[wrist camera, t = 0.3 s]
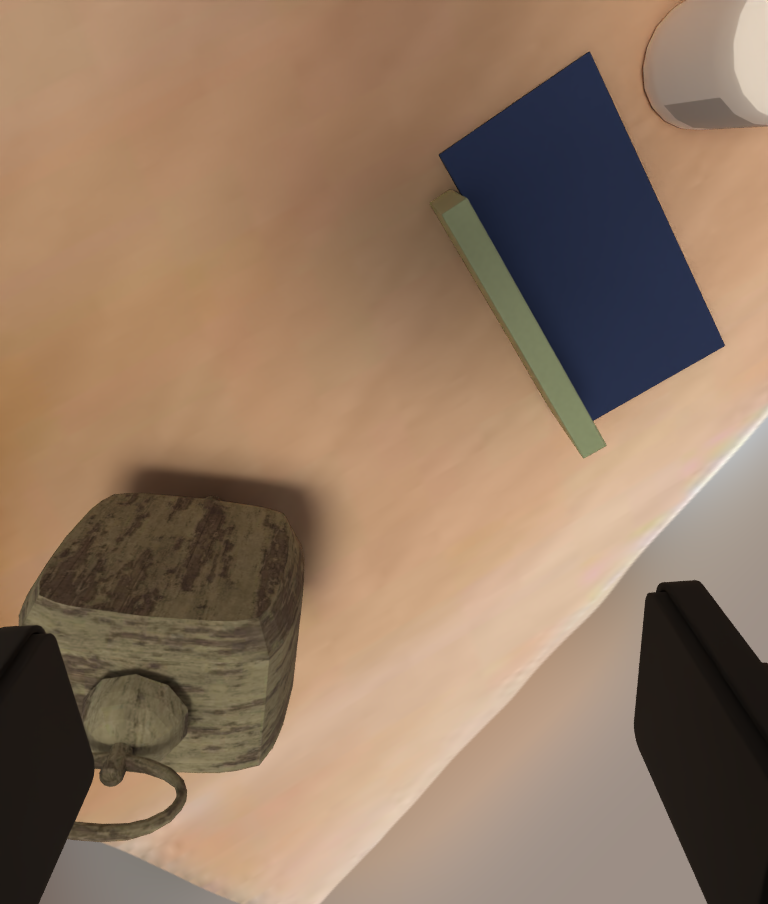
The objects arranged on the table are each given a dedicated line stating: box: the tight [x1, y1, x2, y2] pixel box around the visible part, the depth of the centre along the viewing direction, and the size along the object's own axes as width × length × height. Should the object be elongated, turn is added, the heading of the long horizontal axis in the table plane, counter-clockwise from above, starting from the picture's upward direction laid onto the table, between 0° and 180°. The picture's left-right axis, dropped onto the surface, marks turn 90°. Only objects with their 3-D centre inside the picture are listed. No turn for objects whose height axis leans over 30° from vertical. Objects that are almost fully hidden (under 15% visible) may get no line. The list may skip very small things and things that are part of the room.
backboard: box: [430, 189, 606, 458], centre depth 42 cm, size 2×16×8 cm, turn 33°
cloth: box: [439, 52, 725, 421], centre depth 44 cm, size 10×20×1 cm, turn 33°
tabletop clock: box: [19, 493, 304, 842], centre depth 40 cm, size 14×9×25 cm, turn 82°
